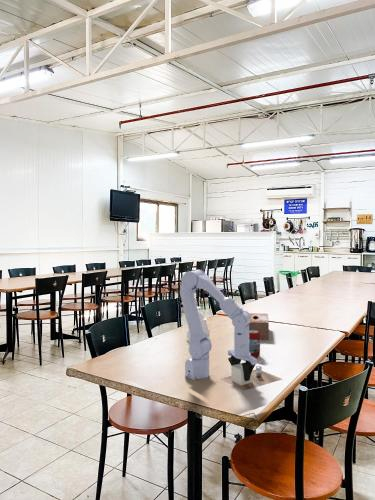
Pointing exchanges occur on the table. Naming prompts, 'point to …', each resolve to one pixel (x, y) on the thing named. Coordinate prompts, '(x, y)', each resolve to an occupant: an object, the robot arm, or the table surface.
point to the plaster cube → (239, 375)
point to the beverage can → (254, 343)
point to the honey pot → (203, 323)
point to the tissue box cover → (260, 324)
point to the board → (254, 380)
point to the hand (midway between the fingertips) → (241, 378)
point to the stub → (258, 371)
